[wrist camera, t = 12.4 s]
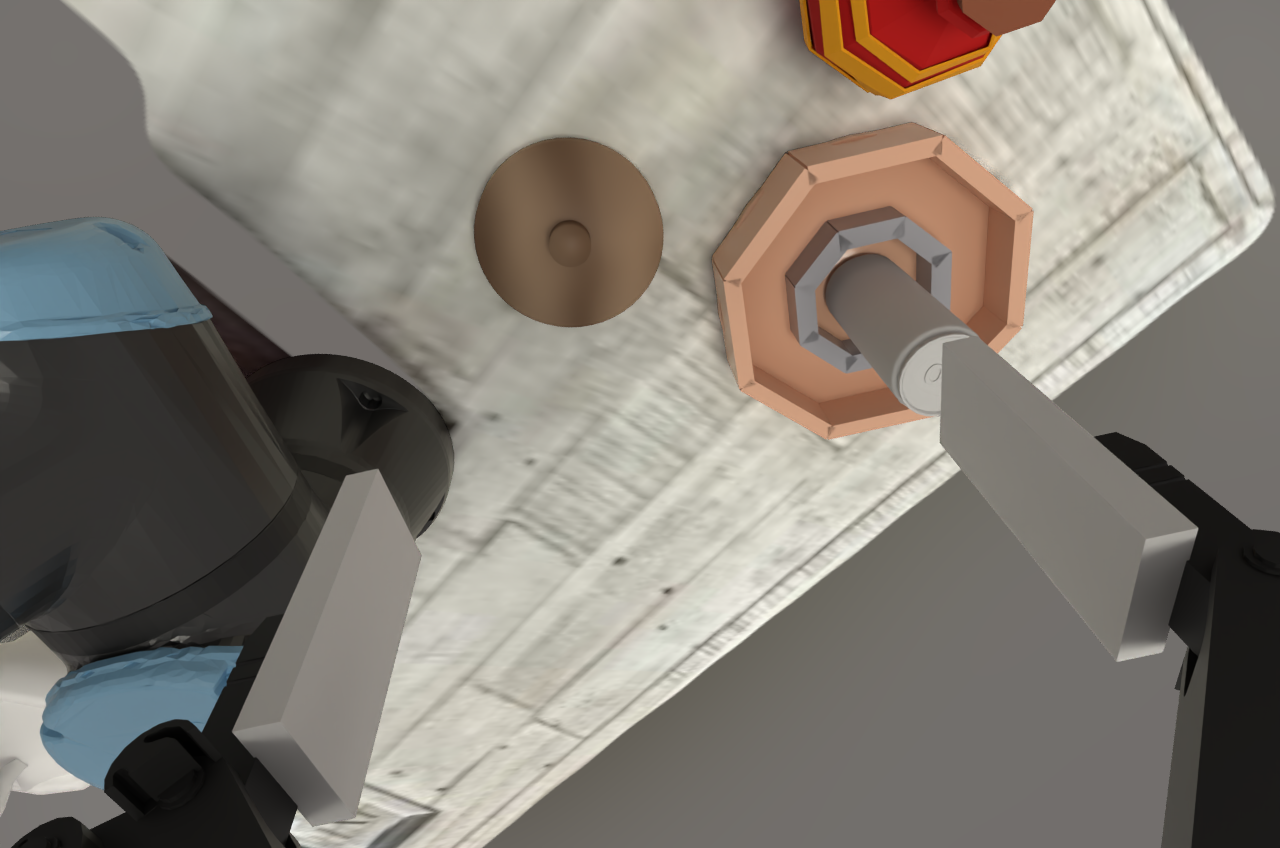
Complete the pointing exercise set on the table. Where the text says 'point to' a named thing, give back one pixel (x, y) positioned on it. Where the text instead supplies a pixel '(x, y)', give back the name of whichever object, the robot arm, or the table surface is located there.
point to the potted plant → (28, 720)
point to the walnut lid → (568, 232)
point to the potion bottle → (910, 37)
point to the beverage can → (895, 327)
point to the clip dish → (854, 226)
